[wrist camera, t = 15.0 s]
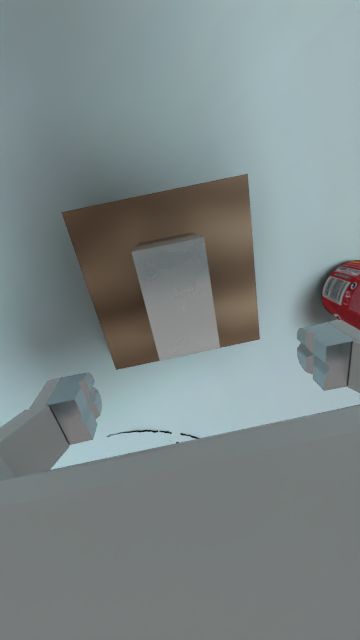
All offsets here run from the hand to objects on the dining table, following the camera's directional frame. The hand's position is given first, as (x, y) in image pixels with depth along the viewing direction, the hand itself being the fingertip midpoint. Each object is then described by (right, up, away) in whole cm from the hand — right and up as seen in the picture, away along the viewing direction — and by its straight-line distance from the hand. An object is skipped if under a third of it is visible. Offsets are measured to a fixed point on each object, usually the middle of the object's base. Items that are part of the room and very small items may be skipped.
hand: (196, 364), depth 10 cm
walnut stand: (-2, +7, +17) cm, 19 cm away
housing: (-1, +5, +13) cm, 14 cm away
